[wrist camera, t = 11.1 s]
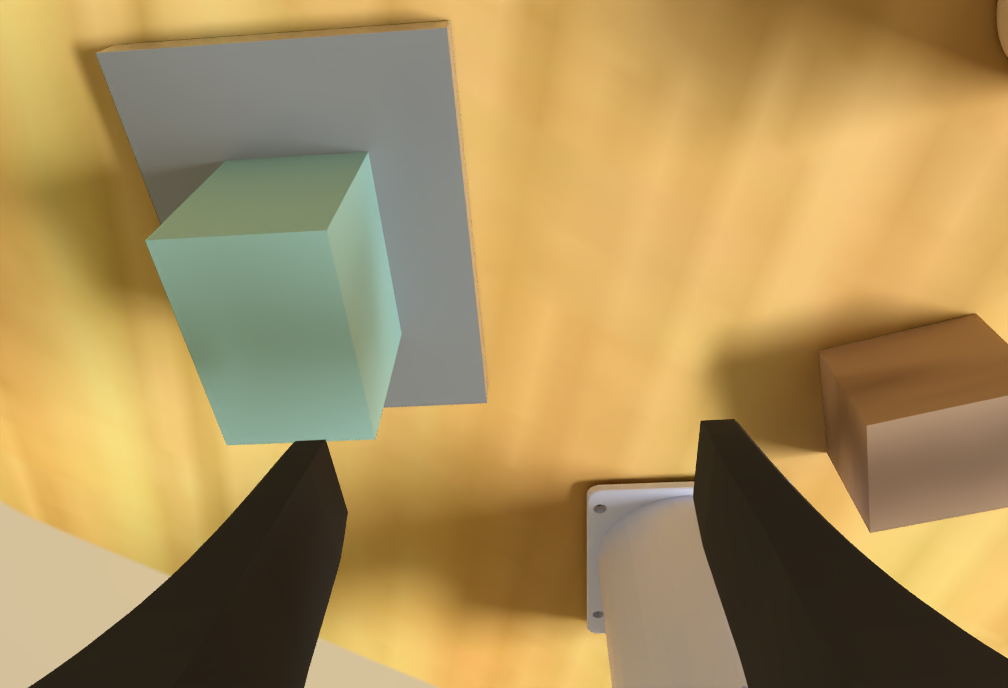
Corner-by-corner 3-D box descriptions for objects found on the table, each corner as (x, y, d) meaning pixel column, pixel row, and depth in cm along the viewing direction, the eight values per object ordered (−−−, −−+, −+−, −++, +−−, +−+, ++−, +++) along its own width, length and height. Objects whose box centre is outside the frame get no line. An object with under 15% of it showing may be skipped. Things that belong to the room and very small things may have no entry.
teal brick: (401, 333, 22) (375, 439, 18) (280, 339, 22) (226, 445, 18) (368, 151, 19) (326, 230, 15) (225, 160, 19) (145, 240, 15)
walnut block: (965, 420, 25) (1032, 502, 22) (825, 450, 26) (870, 532, 23) (973, 311, 23) (1051, 385, 19) (817, 348, 24) (866, 425, 20)
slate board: (487, 385, 25) (486, 402, 24) (242, 396, 25) (233, 414, 24) (450, 20, 18) (447, 27, 17) (114, 44, 18) (95, 52, 17)
